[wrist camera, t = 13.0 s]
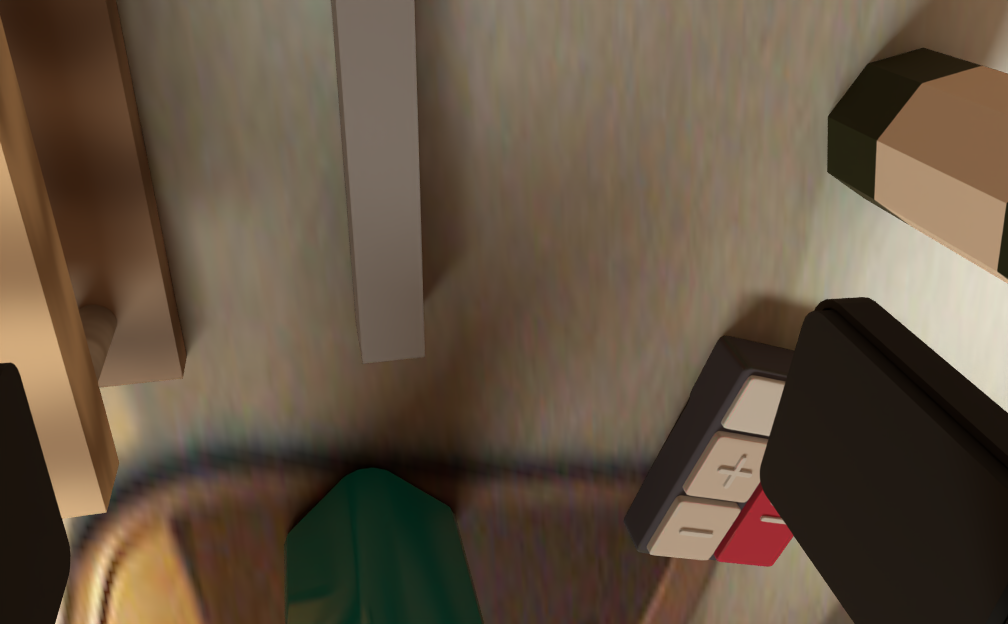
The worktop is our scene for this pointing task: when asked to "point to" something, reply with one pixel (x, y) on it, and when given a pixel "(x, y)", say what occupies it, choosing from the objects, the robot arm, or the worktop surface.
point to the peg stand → (98, 183)
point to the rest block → (381, 172)
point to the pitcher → (378, 558)
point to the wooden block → (47, 321)
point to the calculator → (717, 465)
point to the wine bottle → (930, 150)
